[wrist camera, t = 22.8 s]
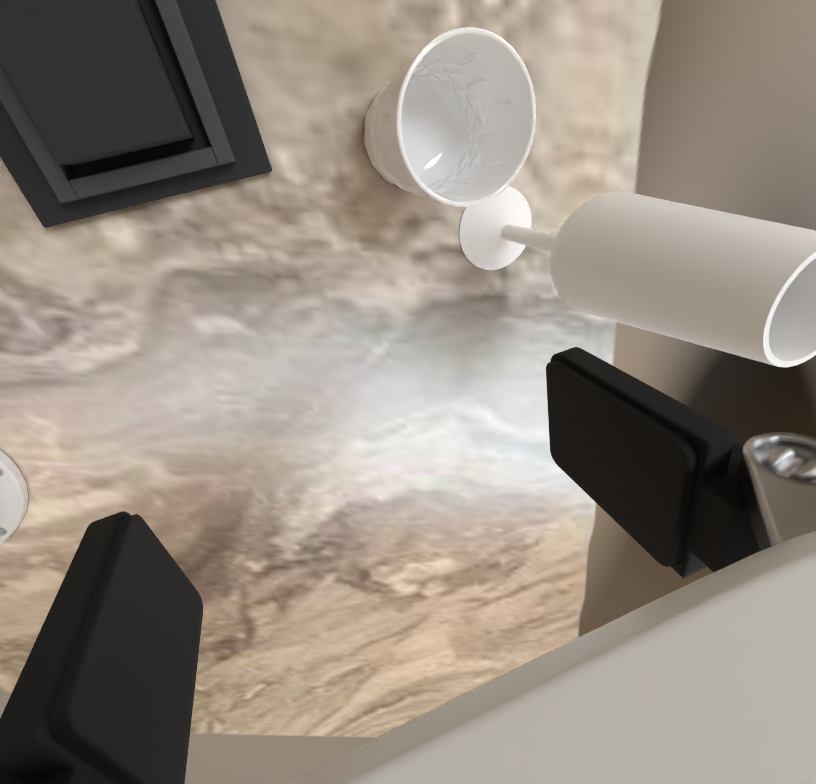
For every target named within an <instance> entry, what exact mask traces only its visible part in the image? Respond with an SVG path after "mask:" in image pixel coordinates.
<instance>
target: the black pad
mask: <svg viewBox="0 0 816 784" xmlns="http://www.w3.org/2000/svg"><path fill="white" fill-rule="evenodd" d="M0 64H1V66H2V67H3V69H4V71H5V73H6V75H7V76H8V78H9V80H10V82H11V83H12V85H13V87H14V89H15V91H16V92H17V94H18V96H19V98H20V99H21V101H22V103H23V105H24V107H25V108H26V110H27V112H28V114H29V115H30V117H31V119H32V121H33V123H34V124H35V126H36V128H37V130H38V132H39V133H40V135H41V137H42V139H43V140H44V142H45V144H46V146H47V148H48V149H49V151H50V153H51V155H52V156H53V158H54V160H55V162H56V163H57V164H70V165H85V164H89V163H94V162H98V161H102V160H107V159H111V158H115V157H120V156H124V155H128V154H133V153H137V152H141V151H146V150H150V149H154V148H159V147H163V146H167V145H172V144H176V143H180V142H185V141H189V140H193V139H194V136H193V133H192V131H191V128H190V126H189V123H188V121H187V118H186V116H185V113H184V111H183V108H182V106H181V103H180V101H179V98H178V96H177V93H176V91H175V89H174V86H173V84H172V81H171V79H170V76H169V74H168V71H167V69H166V66H165V64H164V61H163V59H162V56H161V54H160V51H159V49H158V46H157V44H156V41H155V39H154V37H153V34H152V32H151V29H150V27H149V24H148V22H147V19H146V17H145V14H144V12H143V9H142V7H141V4H140V2H139V0H0Z"/></svg>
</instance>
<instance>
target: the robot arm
mask: <svg viewBox="0 0 816 784" xmlns="http://www.w3.org/2000/svg"><path fill="white" fill-rule="evenodd" d="M546 378H547V397H548V417H549V436H550V452H551V455H552V458H553V460H554V461H555V463H556V464H557V465H558V466H559V467H560V468H561V469H562V470H563V471H564V472H565V473H566V474H567V475H568V476H569V477H570V478H571V479H572V480H573V481H574V482H575V483H577V484H578V485H579V486H580V487H581V488H582V489H583V490H584V491H585V492H586V493H587V494H588V495H589V496H590V497H591V498H592V499H593V500H594V501H595V502H596V503H597V504H598V505H599V506H600V507H601V508H602V509H603V510H604V511H606V512H607V513H608V514H609V515H610V516H611V517H612V518H613V519H614V520H615V521H616V522H617V523H618V524H619V525H620V526H621V527H622V528H623V529H624V530H625V531H626V532H627V533H628V534H630V536H631V537H633V538H634V539H635V540H636V541H637V542H638V543H639V544H640V545H641V546H642V547H643V548H644V549H645V550H646V551H647V552H648V553H649V554H650V555H651V556H652V557H653V558H654V559H655V560H656V561H657V562H659V563H660V564H661V565H663V566H667V567H668V566H671V567H672V568H673V569H674V570H675V571H676V572H677V573H678V574H679V575H680V576H681V577H682V578H685V577H688V576H690V575H692V574H694V573H696V572H698V571H700V570H702V569H704V568H705V567H706V566H707V567H708V568H710V569H711V570H712V571H713V572H714V573H712V574H710V575H708V576H705V577H703V578H701V579H699V580H697V581H694V582H692V583H690V584H688V585H686V586H684V587H682V588H679V589H677V590H675V591H673V592H671V593H669V594H667V595H665V596H663V597H661V598H659V599H657V600H655V601H653V602H651V603H649V604H647V605H645V606H643V607H640V608H638V609H636V610H634V611H632V612H630V613H628V614H626V615H624V616H622V617H620V618H618V619H616V620H614V621H612V622H610V623H608V624H606V625H604V626H602V627H600V628H598V629H595V630H593V631H591V632H589V633H587V634H585V635H583V636H581V637H579V638H577V639H575V640H573V641H571V642H569V643H567V644H565V645H563V646H560V647H558V648H556V649H554V650H552V651H550V652H548V653H546V654H544V655H542V656H540V657H538V658H536V659H534V660H532V661H530V662H528V663H526V664H524V665H522V666H520V667H518V668H516V669H514V670H512V671H510V672H508V673H506V674H504V675H502V676H500V677H498V678H496V679H494V680H492V681H489V682H487V683H485V684H483V685H481V686H479V687H477V688H475V689H473V690H471V691H469V692H467V693H465V694H463V695H461V696H459V697H457V698H455V699H453V700H451V701H449V702H447V703H445V704H443V705H441V706H439V707H437V708H435V709H433V710H431V711H429V712H427V713H425V714H423V715H421V716H419V717H417V718H415V719H413V720H411V721H409V722H407V723H405V724H403V725H401V726H399V727H397V728H395V729H392V730H390V731H388V732H386V733H384V734H382V735H380V736H378V737H376V738H374V739H372V740H370V741H368V742H366V743H364V744H362V745H361V746H358V747H357V748H354V749H352V750H350V751H348V752H347V753H344V754H343V755H341V756H338V757H337V758H334V759H332V760H330V761H328V762H326V763H324V764H323V765H321V766H319V767H316V768H315V769H312V770H310V771H308V772H307V773H304V774H302V775H301V776H298V777H297V778H295V779H293V780H291V781H289V782H287V783H285V784H816V439H814V438H810V437H807V436H803V435H799V434H791V433H766V434H761V435H757V436H755V437H753V438H751V439H749V440H748V441H747V442H746V444H745V445H744V446H742V445H740V444H738V443H737V442H735V441H734V439H735V435H736V433H735V432H734V431H732V430H730V429H728V428H726V427H725V426H723V425H721V424H719V423H717V422H715V421H713V420H712V419H710V418H708V417H706V416H704V415H702V414H701V413H699V412H697V411H695V410H693V409H691V408H690V407H688V406H686V405H684V404H682V403H680V402H678V401H677V400H675V399H673V398H671V397H669V396H667V395H666V394H664V393H662V392H660V391H658V390H656V389H655V388H653V387H651V386H649V385H647V384H645V383H644V382H642V381H640V380H638V379H636V378H634V377H632V376H630V375H629V374H627V373H625V372H623V371H621V370H620V369H618V368H616V367H614V366H612V365H610V364H609V363H607V362H605V361H603V360H601V359H599V358H597V357H596V356H594V355H592V354H590V353H588V352H586V351H585V350H583V349H581V348H578V347H574V348H571V349H568V350H565V351H563V352H560V353H557V354H554V355H553V356H552V358H551V362H550V363H548V364H547V366H546ZM27 505H28V491H27V485H26V482H25V480H24V478H23V476H22V474H21V472H20V470H19V469H18V467H17V466H16V465H15V464H14V462H13V461H12V460H11V459H10V458H9V457H8V456H7V455H6V454H5V453H3V452H2V451H1V450H0V544H2V543H3V542H4V541H5V540H6V539H7V538H8V537H9V536H10V535H11V534H12V533H13V532H14V531H15V530H16V528H17V527H18V525H19V524H20V522H21V521H22V519H23V516H24V514H25V512H26V510H27ZM202 616H203V603H202V599H201V597H200V594H199V593H198V591H197V590H196V589H195V587H194V586H193V585H192V583H191V582H190V581H189V579H188V578H187V577H186V575H185V574H184V573H183V571H182V570H181V569H180V567H179V566H178V565H177V563H176V562H175V561H174V559H173V558H172V557H171V555H170V554H169V553H168V551H167V550H166V549H165V547H164V546H163V545H162V544H161V542H160V541H159V540H158V538H157V537H156V536H155V534H154V533H153V532H152V530H151V529H150V528H149V526H148V525H147V524H146V522H145V521H144V520H143V518H142V517H141V516H139V515H137V514H135V515H132V516H131V515H130V514H129V513H127V512H119V513H116V514H114V515H111V516H108V517H105V518H103V519H100V520H97V521H94V522H92V523H91V524H90V525H89V526H88V528H87V530H86V532H85V534H84V536H83V538H82V541H81V543H80V545H79V547H78V549H77V552H76V554H75V556H74V558H73V560H72V562H71V565H70V567H69V569H68V571H67V573H66V576H65V578H64V580H63V582H62V584H61V587H60V589H59V591H58V593H57V595H56V598H55V600H54V602H53V604H52V606H51V609H50V611H49V613H48V615H47V617H46V620H45V622H44V624H43V626H42V628H41V631H40V633H39V635H38V637H37V639H36V641H35V644H34V646H33V648H32V650H31V652H30V655H29V657H28V659H27V661H26V663H25V666H24V668H23V670H22V672H21V674H20V677H19V679H18V681H17V683H16V685H15V688H14V690H13V692H12V694H11V696H10V699H9V701H8V703H7V705H6V707H5V710H4V712H3V714H2V716H1V718H0V784H184V782H185V773H186V763H187V755H188V745H189V736H190V727H191V717H192V708H193V699H194V690H195V680H196V671H197V662H198V653H199V643H200V634H201V625H202Z"/></svg>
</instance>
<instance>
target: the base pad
mask: <svg viewBox="0 0 816 784" xmlns="http://www.w3.org/2000/svg"><path fill="white" fill-rule="evenodd" d="M139 2H140V4H141V7H142V9H143V12H144V14H145V17H146V19H147V22H148V24H149V27H150V29H151V32H152V34H153V37H154V39H155V41H156V44H157V46H158V49H159V51H160V54H161V56H162V59H163V61H164V64H165V66H166V69H167V71H168V74H169V76H170V79H171V81H172V84H173V86H174V89H175V91H176V93H177V96H178V98H179V101H180V103H181V106H182V108H183V111H184V113H185V116H186V118H187V121H188V123H189V126H190V128H191V131H192V133H193V136H194V139H193V140H189V141H185V142H180V143H176V144H172V145H167V146H163V147H159V148H154V149H150V150H146V151H141V152H137V153H133V154H128V155H124V156H120V157H115V158H111V159H107V160H102V161H98V162H94V163H89V164H85V165H70V164H57V163H56V162H55V160H54V158H53V156H52V155H51V153H50V151H49V149H48V148H47V146H46V144H45V142H44V140H43V139H42V137H41V135H40V133H39V132H38V130H37V128H36V126H35V124H34V123H33V121H32V119H31V117H30V115H29V114H28V112H27V110H26V108H25V107H24V105H23V103H22V101H21V99H20V98H19V96H18V94H17V92H16V91H15V89H14V87H13V85H12V83H11V82H10V80H9V78H8V76H7V75H6V73H5V71H4V69H3V67H2V66H1V64H0V157H1V158H2V160H3V161H4V163H5V165H6V166H7V168H8V170H9V171H10V173H11V174H12V176H13V178H14V179H15V181H16V183H17V184H18V186H19V187H20V189H21V191H22V192H23V194H24V196H25V197H26V199H27V200H28V202H29V204H30V205H31V207H32V209H33V210H34V212H35V213H36V215H37V217H38V218H39V220H40V222H41V223H42V225H43V226H44V227H50V226H54V225H58V224H62V223H66V222H70V221H74V220H78V219H82V218H86V217H90V216H94V215H98V214H102V213H106V212H110V211H114V210H118V209H122V208H126V207H130V206H134V205H138V204H142V203H146V202H150V201H154V200H158V199H162V198H166V197H170V196H174V195H178V194H182V193H186V192H190V191H194V190H198V189H202V188H206V187H210V186H214V185H218V184H222V183H226V182H230V181H234V180H238V179H242V178H246V177H250V176H254V175H258V174H262V173H266V172H270V171H272V168H271V165H270V162H269V159H268V156H267V153H266V150H265V147H264V144H263V141H262V138H261V135H260V132H259V129H258V126H257V123H256V120H255V117H254V114H253V111H252V108H251V105H250V102H249V99H248V96H247V93H246V90H245V87H244V84H243V81H242V78H241V75H240V72H239V70H238V67H237V64H236V61H235V58H234V55H233V52H232V49H231V46H230V43H229V40H228V37H227V34H226V31H225V28H224V25H223V22H222V19H221V16H220V13H219V10H218V7H217V4H216V1H215V0H139Z"/></svg>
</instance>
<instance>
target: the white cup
mask: <svg viewBox="0 0 816 784" xmlns="http://www.w3.org/2000/svg"><path fill="white" fill-rule="evenodd" d="M535 123H536V103H535V95H534V90H533V86H532V82H531V79H530V76H529V73H528V71H527V69H526V67H525V65H524V63H523V61H522V59H521V58H520V56H519V55H518V53H517V52H516V51H515V50H514V49H513V47H512V46H511V45H510V44H509V43H507V42H506V41H505V40H504V39H503V38H501V37H500V36H498V35H496V34H494V33H492V32H490V31H488V30H484V29H481V28H474V27H464V28H457V29H453V30H450V31H448V32H445V33H443V34H441V35H440V36H438V37H436V38H435V39H433V40H432V41H431V42H430V43H428V44H427V45H426V46H425V47H424V48H423V49H422V50H421V51H420V52H418V53H417V54H416V55H415V56H414V57H413V58H412V59H411V60H409V61H408V62H407V63H406V64H405V65H404V66H402V67H401V68H400V69H399V70H398V72H397V73H396V74H395V75H394V76H393V77H392V78H391V79H390V80H389V81H388V82H387V83H386V84H385V86H384V87H383V89H382V90H381V91H380V92H378V93H377V94H376V95H375V97H374V99H373V102H372V104H371V106H370V108H369V110H368V112H367V114H366V117H365V134H364V144H365V147H366V150H367V152H368V155H369V158H370V161H371V164H372V166H373V167H374V168H375V169H376V170H377V172H378V173H379V174H380V175H381V176H382V177H383V178H384V179H385V180H386V181H387V182H388V183H391V184H394V185H396V186H399V187H400V188H402V189H403V190H405V191H408V192H410V193H413V194H416V195H419V196H422V197H425V198H428V199H432V200H435V201H438V202H441V203H444V204H447V205H451V206H457V207H469V206H475V205H479V204H482V203H485V202H487V201H489V200H491V199H493V198H494V197H496V196H497V195H499V194H500V193H501V192H503V191H504V190H505V189H506V188H507V187H508V186H509V185H510V184H511V183H512V181H513V180H514V179H515V178H516V176H517V175H518V173H519V172H520V170H521V169H522V167H523V165H524V163H525V161H526V159H527V156H528V154H529V151H530V148H531V145H532V141H533V137H534V131H535Z"/></svg>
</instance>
